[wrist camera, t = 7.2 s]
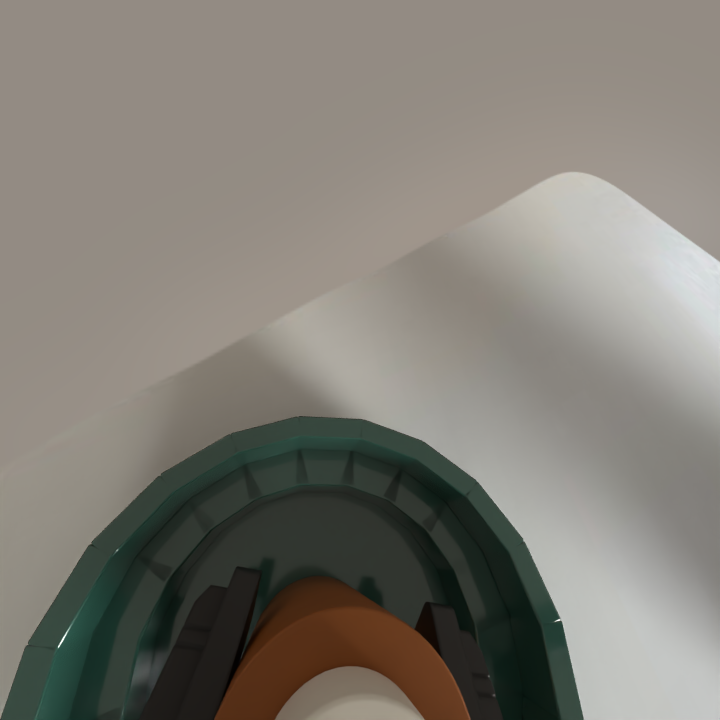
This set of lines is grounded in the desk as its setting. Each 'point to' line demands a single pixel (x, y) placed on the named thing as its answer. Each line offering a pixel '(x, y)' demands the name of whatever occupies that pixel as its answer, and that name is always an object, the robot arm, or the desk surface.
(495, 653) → the bowl
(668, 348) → the desk surface
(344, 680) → the bottle
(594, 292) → the desk surface
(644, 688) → the desk surface
